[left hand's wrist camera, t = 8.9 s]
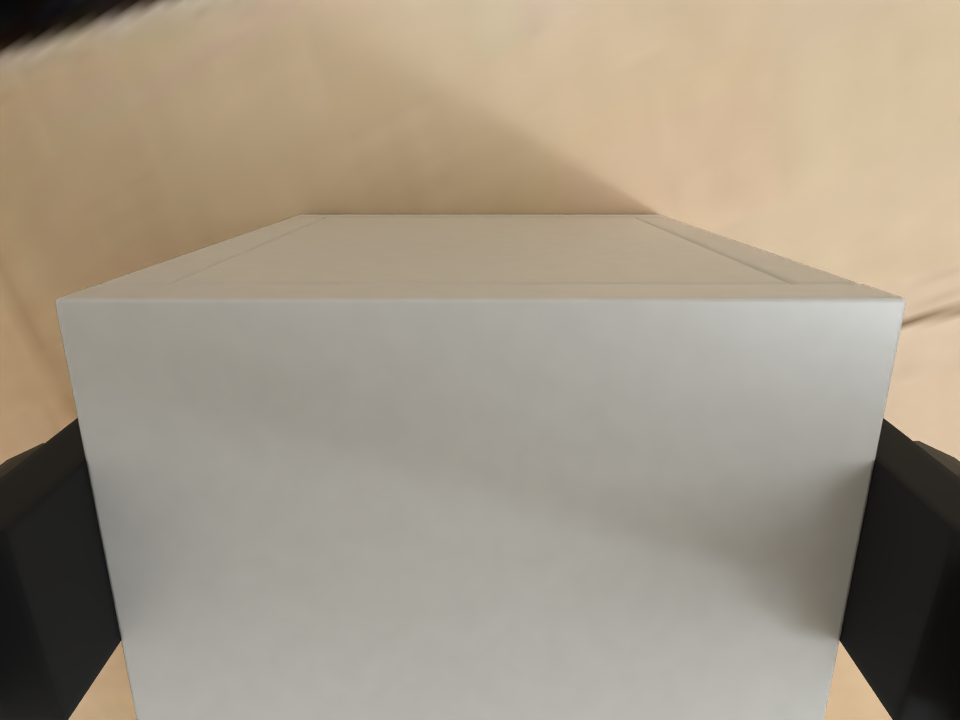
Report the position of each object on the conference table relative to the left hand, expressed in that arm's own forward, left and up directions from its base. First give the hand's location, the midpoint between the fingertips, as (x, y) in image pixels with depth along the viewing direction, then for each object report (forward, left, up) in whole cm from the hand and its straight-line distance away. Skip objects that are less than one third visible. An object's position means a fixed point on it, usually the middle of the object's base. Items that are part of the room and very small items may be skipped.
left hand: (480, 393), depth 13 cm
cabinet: (+6, +2, -5) cm, 9 cm away
